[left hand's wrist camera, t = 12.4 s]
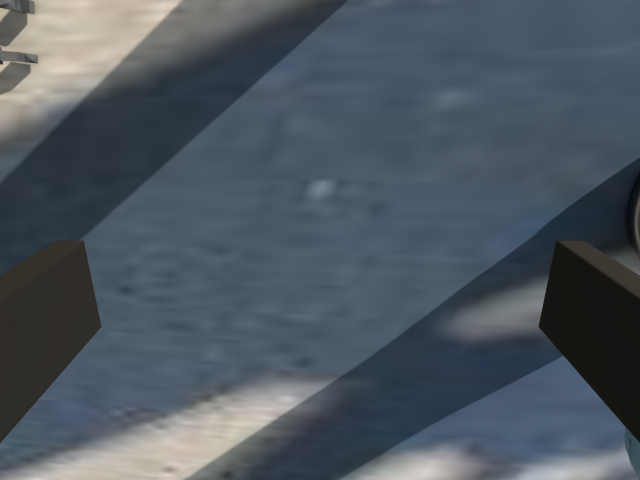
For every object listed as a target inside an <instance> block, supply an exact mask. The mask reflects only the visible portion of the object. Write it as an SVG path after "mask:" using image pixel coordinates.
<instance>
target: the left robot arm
mask: <svg viewBox="0 0 640 480" xmlns="http://www.w3.org/2000/svg"><path fill="white" fill-rule="evenodd" d="M627 222H628V231H629V236H630V239H631V242H632V244H633V247H634V249H635V250H636V252H637V253H638V255H639V256H640V177H639V179H638V181H637V183H636V185H635V187H634V190H633V193H632V196H631V199H630V203H629V208H628V219H627ZM100 328H101V323H100V318H99V313H98V308H97V303H96V298H95V294H94V289H93V284H92V279H91V274H90V269H89V264H88V260H87V255H86V250H85V245H84V241H55V242H54V243H52V244H50V245H49V246H47V247H46V248H44V249H42V250H41V251H39V252H38V253H36V254H34V255H33V256H31V257H30V258H28V259H26V260H25V261H23V262H22V263H20V264H18V265H17V266H15V267H14V268H12V269H11V270H9V271H7V272H6V273H4V274H3V275H1V276H0V443H1V442H2V440H3V439H4V438H5V437H6V436H7V435H8V434H9V432H10V431H11V430H12V429H13V428H14V427H15V425H16V424H17V423H18V422H19V421H20V420H21V419H22V417H23V416H24V415H25V414H26V413H27V412H28V411H29V409H30V408H31V407H32V406H33V405H34V404H35V402H36V401H37V400H38V399H39V398H40V397H41V396H42V394H43V393H44V392H45V391H46V390H47V389H48V388H49V386H50V385H51V384H52V383H53V382H54V381H55V379H56V378H57V377H58V376H59V375H60V374H61V373H62V371H63V370H64V369H65V368H66V367H67V366H68V365H69V363H70V362H71V361H72V360H73V359H74V358H75V356H76V355H77V354H78V353H79V352H80V351H81V350H82V348H83V347H84V346H85V345H86V344H87V343H88V342H89V340H90V339H91V338H92V337H93V336H94V335H95V333H96V332H97V331H98V330H99V329H100ZM539 328H540V329H541V330H542V331H543V332H544V333H545V335H546V336H547V337H548V338H549V339H550V340H551V342H552V343H553V344H554V345H555V346H556V347H557V348H558V350H559V351H560V352H561V353H562V354H563V355H564V356H565V358H566V359H567V360H568V361H569V362H570V363H571V365H572V366H573V367H574V368H575V369H576V370H577V371H578V373H579V374H580V375H581V376H582V377H583V378H584V379H585V381H586V382H587V383H588V384H589V385H590V386H591V388H592V389H593V390H594V391H595V392H596V393H597V394H598V396H599V397H600V398H601V399H602V400H603V401H604V402H605V404H606V405H607V406H608V407H609V408H610V409H611V411H612V412H613V413H614V414H615V415H616V416H617V417H618V419H619V420H620V421H621V422H622V423H623V424H624V425H625V427H626V431H625V445H626V451H627V453H628V456H629V459H630V463H631V465H632V467H633V469H634V471H635V473H636V475H637V477H638V478H639V480H640V276H639V275H637V274H636V273H634V272H633V271H631V270H629V269H628V268H626V267H625V266H623V265H622V264H620V263H618V262H617V261H615V260H614V259H612V258H610V257H609V256H607V255H606V254H604V253H602V252H601V251H599V250H598V249H596V248H594V247H593V246H591V245H590V244H588V243H586V242H585V241H556V245H555V250H554V255H553V260H552V264H551V269H550V274H549V279H548V284H547V289H546V294H545V298H544V303H543V308H542V313H541V318H540V323H539Z"/></svg>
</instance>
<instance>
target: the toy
mask: <svg viewBox="0 0 640 480" xmlns="http://www.w3.org/2000/svg"><path fill="white" fill-rule="evenodd" d="M0 8H4V9H9V10H14V11H19V12H25V13H31V14H35V13H34V1H31V0H0ZM3 61H21V62H29V63H38V60H37V55H31V54H26V53H20V52H9V51H2V49H1V47H0V64H3Z"/></svg>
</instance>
